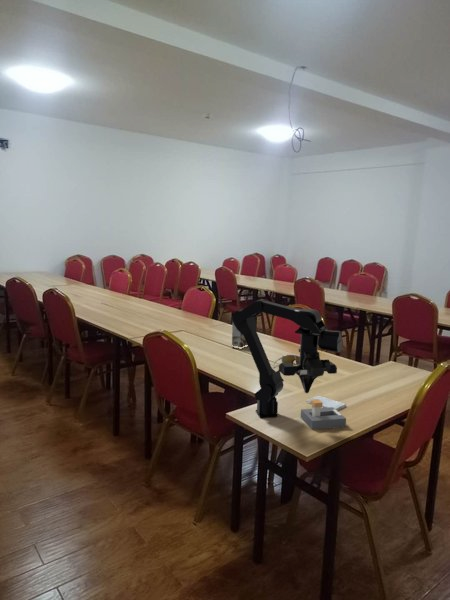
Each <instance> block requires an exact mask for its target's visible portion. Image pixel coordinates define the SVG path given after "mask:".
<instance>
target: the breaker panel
mask: <svg viewBox="0 0 450 600" xmlns="http://www.w3.org/2000/svg"><path fill="white" fill-rule="evenodd" d="M300 418H301V420H302V421H303V422H305V424H306V425H307V426H308V427H309V428H310V430H313V431H314V430H325V429H339V428H340V429H341V428H346V426H347V418H346V417H345V416H344V415H343V414H341V412H339V410H336V409H334V408H333V407H330V408H321V410H320V416H317V417H312V408H303V409H302V408H301V409H300Z"/></svg>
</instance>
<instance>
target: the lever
mask: <svg viewBox="0 0 450 600" xmlns="http://www.w3.org/2000/svg"><path fill="white" fill-rule="evenodd" d="M322 404H323V403H322V402H321V401H320V400H319V399H312V400H311V404H310V405H311V409H312V417H317V416H320V410H321V407H322Z"/></svg>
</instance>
